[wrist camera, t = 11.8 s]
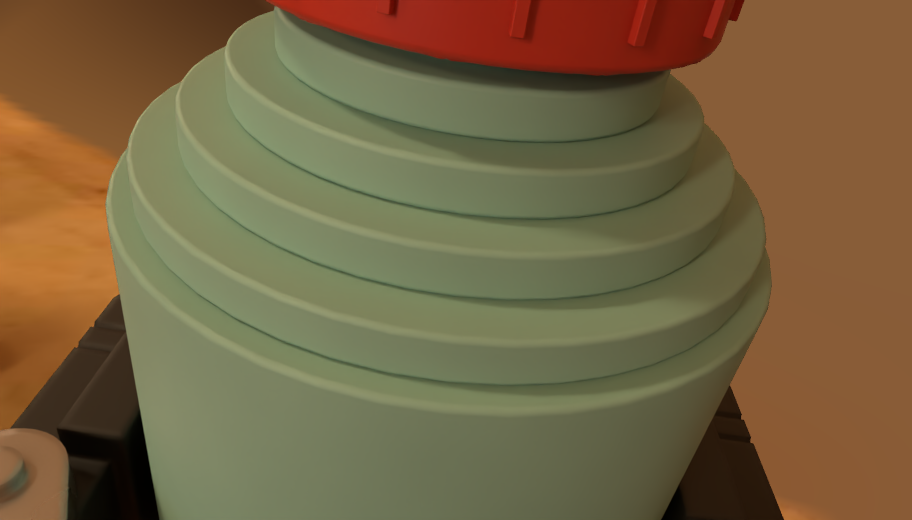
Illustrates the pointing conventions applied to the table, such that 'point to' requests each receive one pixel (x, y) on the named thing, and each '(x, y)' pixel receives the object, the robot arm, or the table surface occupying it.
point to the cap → (535, 30)
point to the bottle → (426, 284)
